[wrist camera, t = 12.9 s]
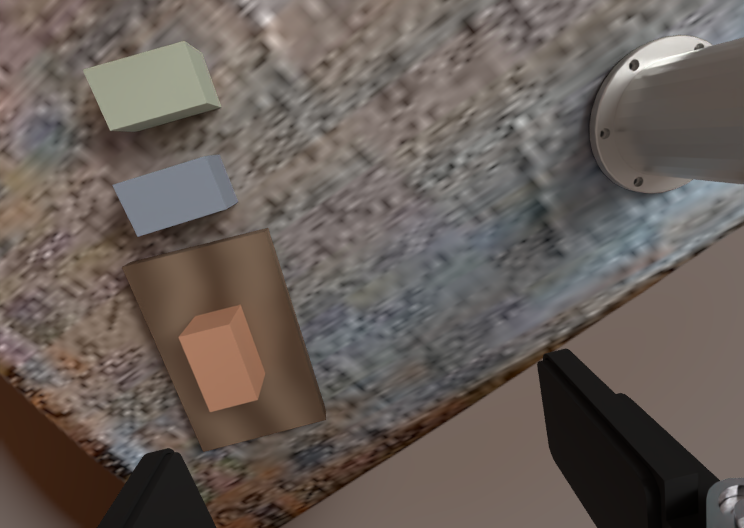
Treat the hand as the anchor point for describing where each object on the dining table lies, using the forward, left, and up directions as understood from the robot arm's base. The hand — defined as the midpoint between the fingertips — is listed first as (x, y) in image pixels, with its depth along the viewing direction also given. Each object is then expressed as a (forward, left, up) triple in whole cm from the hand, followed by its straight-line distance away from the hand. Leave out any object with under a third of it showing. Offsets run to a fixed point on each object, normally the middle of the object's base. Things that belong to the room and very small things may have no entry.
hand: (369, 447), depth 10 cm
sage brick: (+10, -14, -27) cm, 32 cm away
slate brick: (+11, -6, -27) cm, 30 cm away
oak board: (+12, +8, -27) cm, 30 cm away
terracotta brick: (+12, +7, -25) cm, 29 cm away
